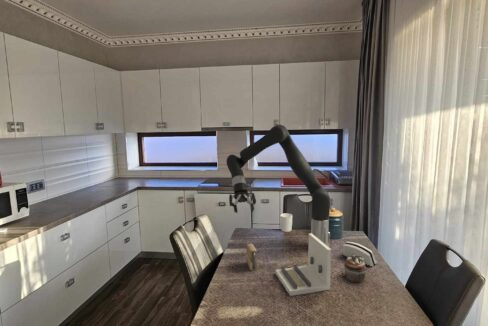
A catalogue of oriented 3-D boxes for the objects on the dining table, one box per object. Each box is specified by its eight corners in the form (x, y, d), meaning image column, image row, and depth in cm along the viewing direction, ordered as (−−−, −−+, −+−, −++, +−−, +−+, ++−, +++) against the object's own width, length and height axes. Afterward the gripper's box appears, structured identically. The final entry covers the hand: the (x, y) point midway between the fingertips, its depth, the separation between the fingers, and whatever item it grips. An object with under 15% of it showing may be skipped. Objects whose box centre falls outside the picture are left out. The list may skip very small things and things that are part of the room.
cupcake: (340, 278, 133) (341, 257, 131) (347, 269, 141) (348, 249, 139) (362, 285, 127) (363, 263, 126) (368, 275, 135) (369, 255, 133)
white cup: (293, 228, 194) (293, 213, 192) (291, 232, 187) (291, 217, 185) (281, 227, 197) (281, 212, 195) (279, 231, 189) (279, 216, 188)
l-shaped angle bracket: (310, 268, 142) (311, 233, 139) (330, 289, 125) (331, 249, 122) (275, 273, 138) (275, 237, 135) (290, 296, 120) (290, 254, 118)
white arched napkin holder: (377, 263, 145) (375, 247, 142) (372, 269, 143) (370, 253, 140) (348, 252, 159) (345, 237, 155) (343, 257, 156) (339, 242, 153)
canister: (345, 233, 184) (346, 206, 182) (341, 241, 173) (342, 212, 170) (324, 230, 190) (324, 203, 188) (319, 237, 179) (319, 209, 176)
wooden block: (252, 262, 150) (252, 243, 148) (257, 270, 141) (257, 251, 139) (246, 262, 149) (246, 244, 147) (251, 271, 140) (250, 251, 139)
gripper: (227, 182, 159) (232, 209, 150) (253, 181, 162) (259, 207, 153) (226, 190, 165) (230, 216, 156) (250, 188, 168) (256, 213, 159)
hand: (244, 211), depth 154 cm, fingers open, 8 cm apart
